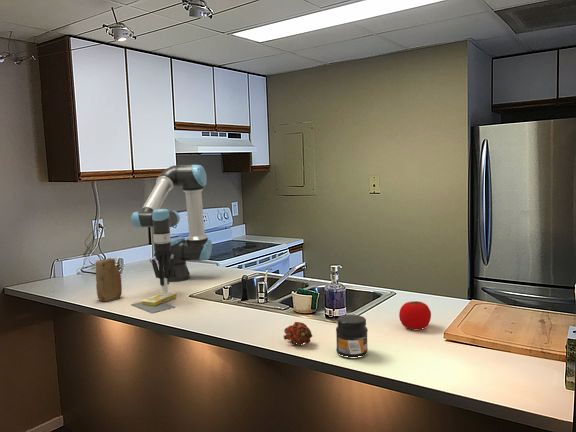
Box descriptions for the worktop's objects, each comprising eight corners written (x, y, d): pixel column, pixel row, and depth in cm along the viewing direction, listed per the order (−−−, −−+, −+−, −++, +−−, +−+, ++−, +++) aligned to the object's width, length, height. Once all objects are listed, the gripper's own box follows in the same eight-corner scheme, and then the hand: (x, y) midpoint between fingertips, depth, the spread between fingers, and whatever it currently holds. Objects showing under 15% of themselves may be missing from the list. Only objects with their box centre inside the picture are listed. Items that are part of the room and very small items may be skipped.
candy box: (177, 297, 240) (163, 295, 243) (177, 293, 240) (163, 291, 243) (154, 306, 225) (141, 304, 229) (154, 302, 225) (140, 299, 229)
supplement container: (356, 362, 158) (355, 326, 156) (330, 354, 165) (329, 319, 163) (373, 352, 165) (373, 317, 164) (348, 345, 172) (347, 312, 171)
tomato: (412, 335, 181) (412, 307, 180) (393, 325, 191) (393, 299, 190) (437, 330, 185) (438, 303, 184) (418, 321, 196) (418, 295, 195)
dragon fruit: (310, 353, 170) (286, 349, 179) (321, 333, 175) (297, 331, 184) (298, 337, 167) (274, 334, 175) (309, 318, 171) (285, 316, 180)
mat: (154, 299, 238) (154, 298, 238) (175, 307, 224) (175, 306, 224) (130, 304, 230) (130, 304, 230) (152, 313, 216) (151, 312, 216)
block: (101, 303, 234) (98, 262, 232) (96, 300, 240) (93, 259, 238) (123, 298, 241) (121, 258, 239) (118, 295, 247) (115, 256, 245)
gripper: (153, 245, 221) (156, 296, 224) (178, 241, 230) (181, 290, 233) (145, 243, 227) (148, 293, 229) (170, 239, 235) (173, 287, 238)
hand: (165, 291), depth 231 cm, fingers closed
